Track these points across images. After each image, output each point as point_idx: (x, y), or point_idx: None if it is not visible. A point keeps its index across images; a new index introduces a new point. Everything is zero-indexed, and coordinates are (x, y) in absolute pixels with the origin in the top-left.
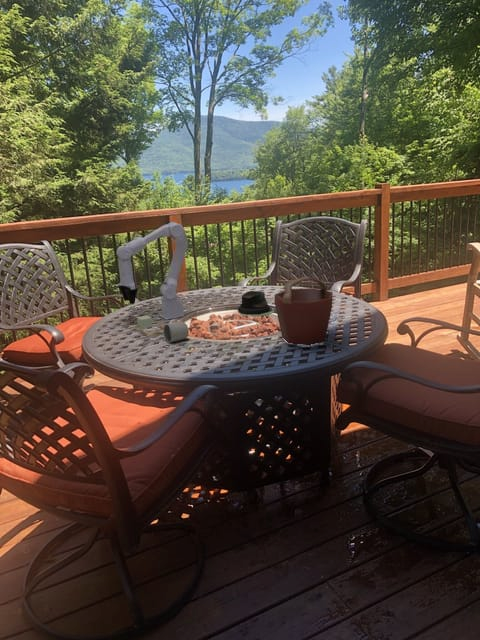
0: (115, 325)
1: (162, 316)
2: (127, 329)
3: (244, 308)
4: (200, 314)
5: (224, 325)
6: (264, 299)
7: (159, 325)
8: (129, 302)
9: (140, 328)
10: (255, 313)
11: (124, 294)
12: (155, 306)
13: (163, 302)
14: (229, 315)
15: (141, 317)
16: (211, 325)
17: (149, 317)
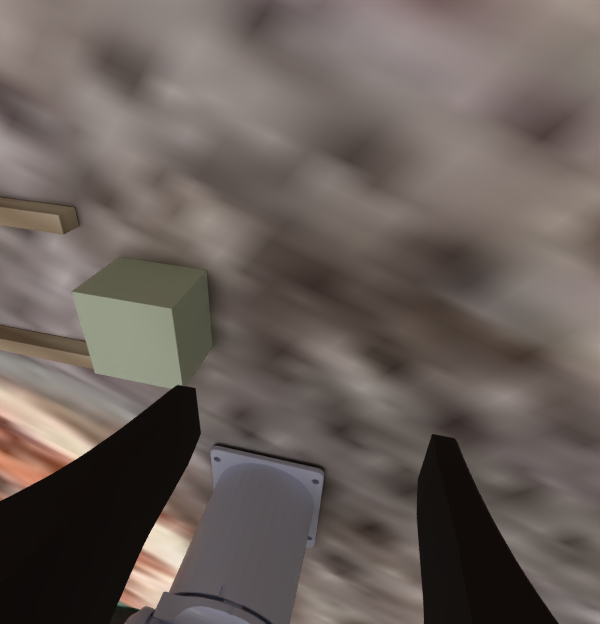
0: (346, 104)
1: (276, 466)
2: (139, 147)
3: None
4: None
5: None
6: None
7: (54, 349)
8: (183, 400)
9: (27, 221)
10: None
11: (444, 546)
12: (586, 575)
13: (205, 572)
14: (127, 584)
15: (142, 330)
16: (19, 488)
17: (112, 368)
